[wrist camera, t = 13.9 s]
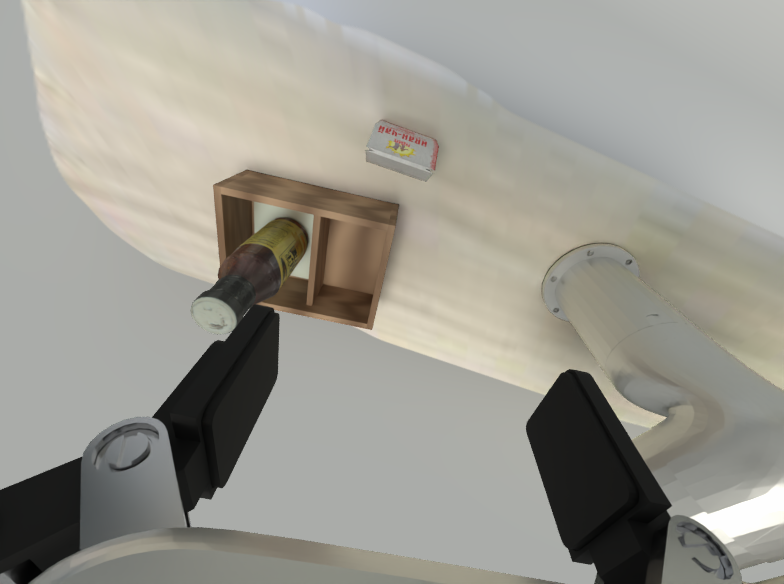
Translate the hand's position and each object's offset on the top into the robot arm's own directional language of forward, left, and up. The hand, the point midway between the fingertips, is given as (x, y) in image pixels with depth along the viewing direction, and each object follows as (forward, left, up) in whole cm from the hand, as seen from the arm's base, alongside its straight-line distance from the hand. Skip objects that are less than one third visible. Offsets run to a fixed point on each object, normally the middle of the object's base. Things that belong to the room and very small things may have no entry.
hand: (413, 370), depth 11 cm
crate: (+11, +13, -34) cm, 38 cm away
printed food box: (+2, -2, -35) cm, 35 cm away
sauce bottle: (+15, +12, -34) cm, 39 cm away
